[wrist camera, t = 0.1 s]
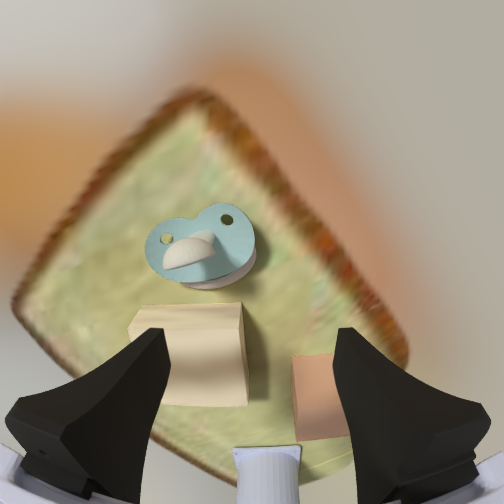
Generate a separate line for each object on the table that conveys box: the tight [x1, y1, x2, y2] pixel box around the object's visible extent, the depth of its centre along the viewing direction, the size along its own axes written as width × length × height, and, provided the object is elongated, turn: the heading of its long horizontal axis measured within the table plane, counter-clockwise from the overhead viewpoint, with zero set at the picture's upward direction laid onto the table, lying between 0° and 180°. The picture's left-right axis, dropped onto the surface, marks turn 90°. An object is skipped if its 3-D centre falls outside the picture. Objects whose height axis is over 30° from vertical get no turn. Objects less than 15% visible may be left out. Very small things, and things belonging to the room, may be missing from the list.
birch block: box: [127, 302, 249, 407], centre depth 22 cm, size 8×8×4 cm
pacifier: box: [145, 203, 257, 289], centre depth 18 cm, size 7×6×6 cm
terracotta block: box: [291, 353, 350, 442], centre depth 22 cm, size 4×4×6 cm
